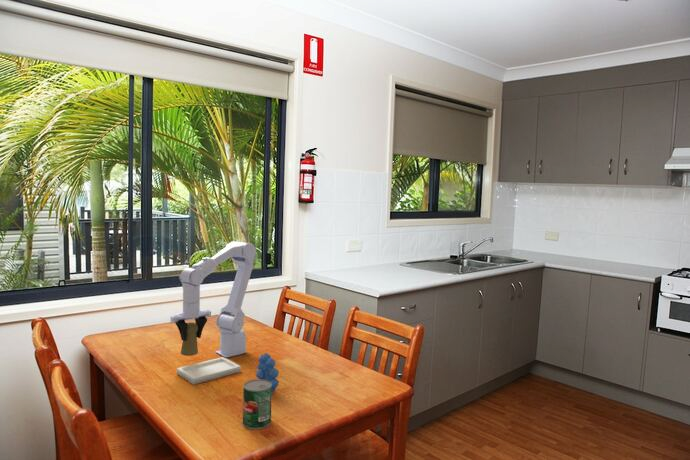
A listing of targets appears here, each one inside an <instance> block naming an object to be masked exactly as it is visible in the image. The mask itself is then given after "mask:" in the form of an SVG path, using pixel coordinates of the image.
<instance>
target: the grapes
mask: <svg viewBox="0 0 690 460" xmlns="http://www.w3.org/2000/svg"><path fill="white" fill-rule="evenodd" d="M258 362H259V363H258V365H257V372H256V374H255V376H256V377H257V379H262V380H267V381H270V382H271V383H272V394H274V392H275V391H276V389H277V388H278V386H279V383H280V382H279V380H278V379H277V378H278V376H279V370H278V369H276V368H275V367H276V361H275V360H274V358H272V356H271V354H269V353H268V352H265V353H264V354H261V355H260V356H259V358H258Z"/></svg>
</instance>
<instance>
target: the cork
mask: <svg viewBox="0 0 690 460" xmlns="http://www.w3.org/2000/svg"><path fill="white" fill-rule="evenodd" d="M186 323H187V329H186V341H183V340H182V344H181V349H180V355H183V356H186V357H192V356H193V357H194V356H196V355H197V354H198V353H199V349H198V337H197V335H196V332H197V331H198V325H197V324H196V322H195V321H194V322H191V321H189V322H186Z"/></svg>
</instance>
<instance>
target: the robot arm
mask: <svg viewBox="0 0 690 460" xmlns="http://www.w3.org/2000/svg"><path fill="white" fill-rule="evenodd" d="M256 254H257V250H256V247H255V245H254V244H253V243H251V242H242V241H236V240H231V241H230V242H229V243H227V244H226V245H225V247H224V248H223V249H221V250H219V251H218V252H217V253H216V254H214V255H213V256H212V257H210V256H209V257H208V256H207V257H202V258H201V260H200V261H199V262H197V263H195V264H194V263H193V264H192V266H191V267H185V268H184V269H182V271H181V272H180V275H179V276H178V279H179V281H180V282H181V287H182V313H178V314H174V315H171V316H170V322H171V323H173V324H175V325H176V327H177V329H178V332H179V335H180V340H181V341H182V342H183V341H186V329H187V323H188V322H186V321H189V320H194V323H196V324H197V325H198V331H197V332H196V335H197V339H200V338H201V336H202V333H203V329H204V327H205V326H206V323H207V322H208V318H207V317H209V318H210V317H212V311H211V310H210V309H209V310H208V309H207V310H201V309H200V307H201V305H200V303H201V300H200V299H201V297H200V295H201V285H202V283H203V281H204V279H205V278H206V277H208V275H210V274H212V273H213V272H214V271H216V269H217V266H218V265H220V264H222V263H224V262H225V261H227V260H228V259H229V260H230V259H231V258H232V260H233V261H234V262H235V263H236V265H237V270H236V274H235V278H234V280H233V283H232V288H231V290H230V294H229V297H228V300H227V304H226V305H225V306H223V307H222V308H221V309H220V312H219V314H218V315H217V316H216V320H215V324H216V326H217V328H218V330H219V331H220V332H219V333H220V334H219V336H220V337H219V339H220V342H219V350H215V353H216V354H218V355H219V356H220V355H221V357H224V358H226V359H228V358H230V357H235V356H238V355H242V354H243V355H244V354H246V353H247V350H246V345H247V342H246V341H247V337H246V336H247V335H246V332H245V330H244V329H243V327H244V323H245V320H244V319H245V312H244V311H243V309H242V305H243V302H244V298H245V296H246V292H247V289H248V288H247V287H248V285H249V281H250V278H251V274H252V271H253V268H254V267H253V266H254V260H255V257H256Z"/></svg>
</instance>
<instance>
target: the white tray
mask: <svg viewBox="0 0 690 460" xmlns="http://www.w3.org/2000/svg"><path fill="white" fill-rule="evenodd" d="M241 370H242V366H241V365H239V364H237V363H236V362H234V361H232V360H230V359H228V358H226V357H224V356H221V357H218V358H212V359H209V360H205V361H202V362H197V363H193V364H189V365H185V366H181V367H177V368H176V375H178V376H180V377H181V378H183V379H184V380H186V381H187V382H189V383H190V384H192V385H193V386H194V385H197V384H201V383H206V382H208V381H211V380H215V379H220V378H222V377H226V376H230V375H234V374H237V373H240V372H242V371H241Z"/></svg>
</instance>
